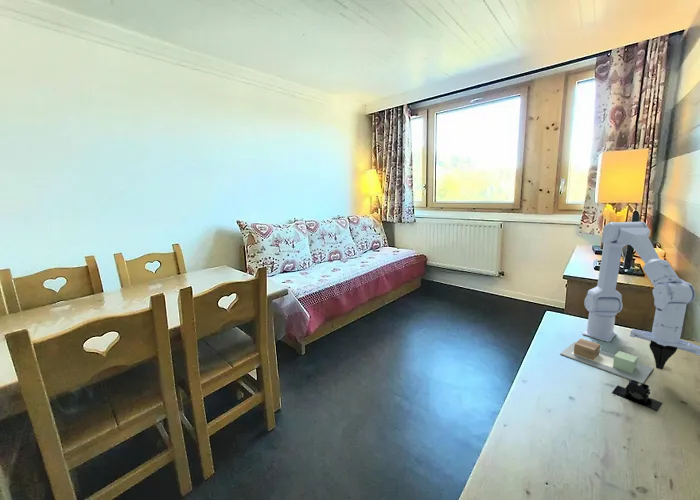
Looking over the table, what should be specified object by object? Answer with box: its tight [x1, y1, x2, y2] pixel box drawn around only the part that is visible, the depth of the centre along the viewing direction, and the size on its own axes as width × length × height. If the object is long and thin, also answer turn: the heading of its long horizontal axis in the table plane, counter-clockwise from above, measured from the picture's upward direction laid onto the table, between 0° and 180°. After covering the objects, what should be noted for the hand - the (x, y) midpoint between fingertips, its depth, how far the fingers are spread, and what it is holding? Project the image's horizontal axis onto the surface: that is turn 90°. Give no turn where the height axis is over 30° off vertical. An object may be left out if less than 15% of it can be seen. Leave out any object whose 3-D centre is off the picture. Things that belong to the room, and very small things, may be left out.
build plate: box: [559, 341, 654, 385], centre depth 102 cm, size 12×21×1 cm, turn 37°
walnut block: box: [574, 338, 601, 360], centre depth 106 cm, size 6×6×4 cm
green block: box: [613, 350, 639, 373], centre depth 98 cm, size 5×5×4 cm
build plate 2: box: [611, 380, 664, 413], centre depth 85 cm, size 12×7×5 cm, turn 35°
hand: (659, 367), depth 91 cm, fingers closed
